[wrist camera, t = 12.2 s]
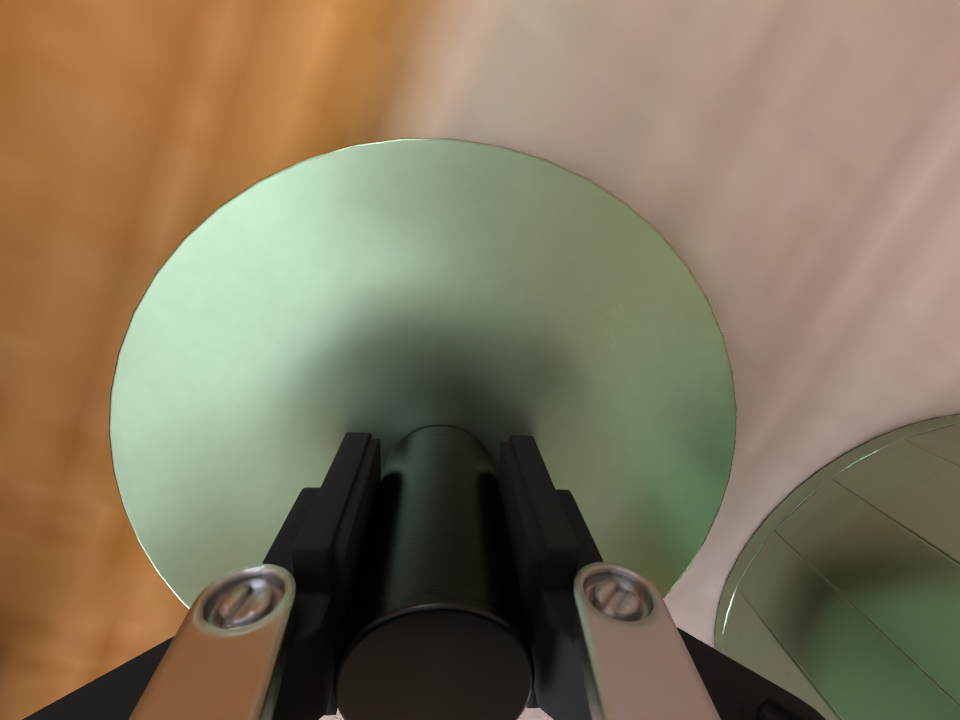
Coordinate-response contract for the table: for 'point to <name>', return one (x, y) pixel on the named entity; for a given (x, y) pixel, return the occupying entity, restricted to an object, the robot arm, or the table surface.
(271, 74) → the table surface
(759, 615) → the tin
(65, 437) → the table surface
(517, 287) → the lid
